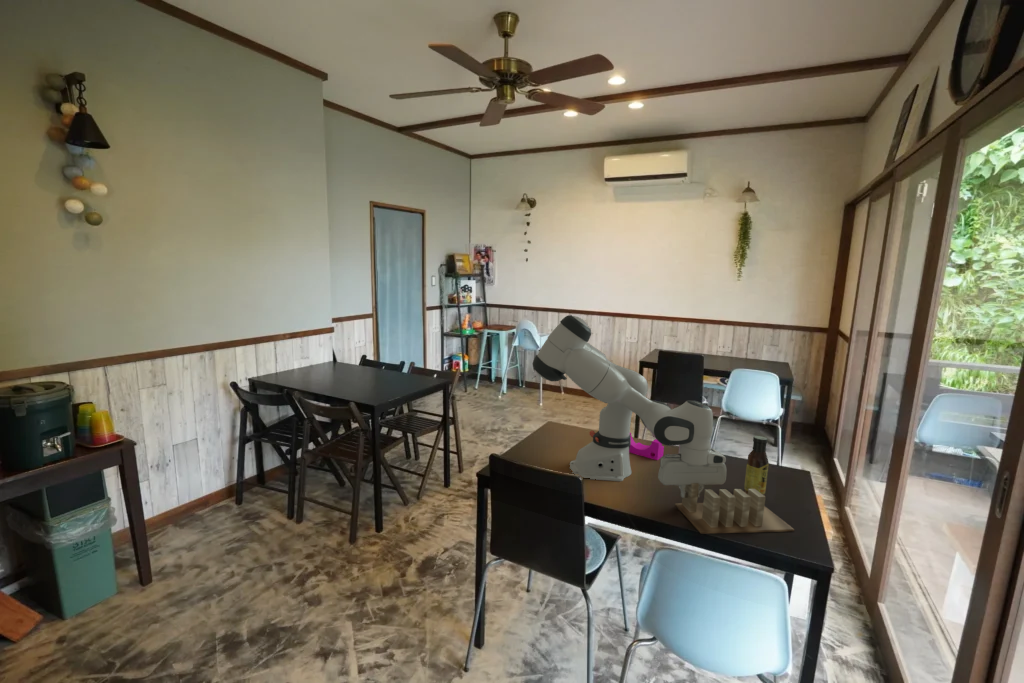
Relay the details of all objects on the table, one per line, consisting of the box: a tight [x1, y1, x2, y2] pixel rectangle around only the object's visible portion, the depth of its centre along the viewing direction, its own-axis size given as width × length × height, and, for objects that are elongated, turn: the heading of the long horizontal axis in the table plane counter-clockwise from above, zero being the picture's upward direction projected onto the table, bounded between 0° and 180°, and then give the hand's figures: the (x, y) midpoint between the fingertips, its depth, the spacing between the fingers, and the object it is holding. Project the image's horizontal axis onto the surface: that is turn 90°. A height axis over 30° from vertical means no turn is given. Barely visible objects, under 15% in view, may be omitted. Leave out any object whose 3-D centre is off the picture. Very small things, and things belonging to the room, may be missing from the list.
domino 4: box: [732, 488, 751, 527], centre depth 133 cm, size 2×5×9 cm, turn 6°
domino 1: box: [681, 483, 699, 512], centre depth 140 cm, size 2×5×9 cm, turn 6°
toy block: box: [629, 432, 665, 461], centre depth 184 cm, size 15×6×8 cm, turn 52°
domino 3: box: [718, 488, 736, 527], centre depth 132 cm, size 2×5×9 cm, turn 6°
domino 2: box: [702, 488, 721, 527], centre depth 132 cm, size 2×5×9 cm, turn 6°
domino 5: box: [748, 489, 766, 526], centre depth 133 cm, size 2×5×9 cm, turn 6°
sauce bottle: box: [743, 435, 770, 497], centre depth 150 cm, size 7×6×20 cm
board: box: [674, 502, 795, 535], centre depth 137 cm, size 28×16×1 cm, turn 96°
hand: (689, 496), depth 140 cm, fingers closed
